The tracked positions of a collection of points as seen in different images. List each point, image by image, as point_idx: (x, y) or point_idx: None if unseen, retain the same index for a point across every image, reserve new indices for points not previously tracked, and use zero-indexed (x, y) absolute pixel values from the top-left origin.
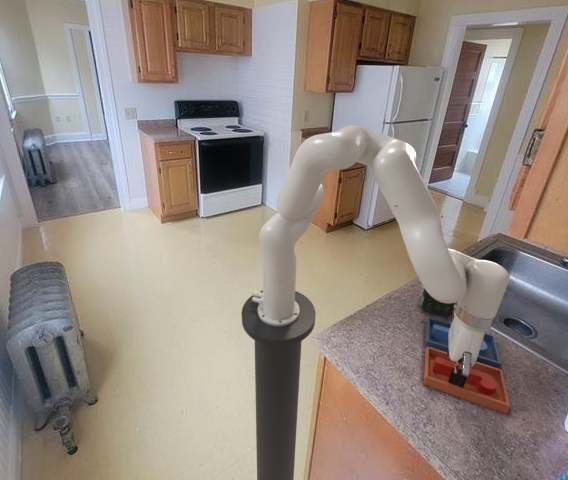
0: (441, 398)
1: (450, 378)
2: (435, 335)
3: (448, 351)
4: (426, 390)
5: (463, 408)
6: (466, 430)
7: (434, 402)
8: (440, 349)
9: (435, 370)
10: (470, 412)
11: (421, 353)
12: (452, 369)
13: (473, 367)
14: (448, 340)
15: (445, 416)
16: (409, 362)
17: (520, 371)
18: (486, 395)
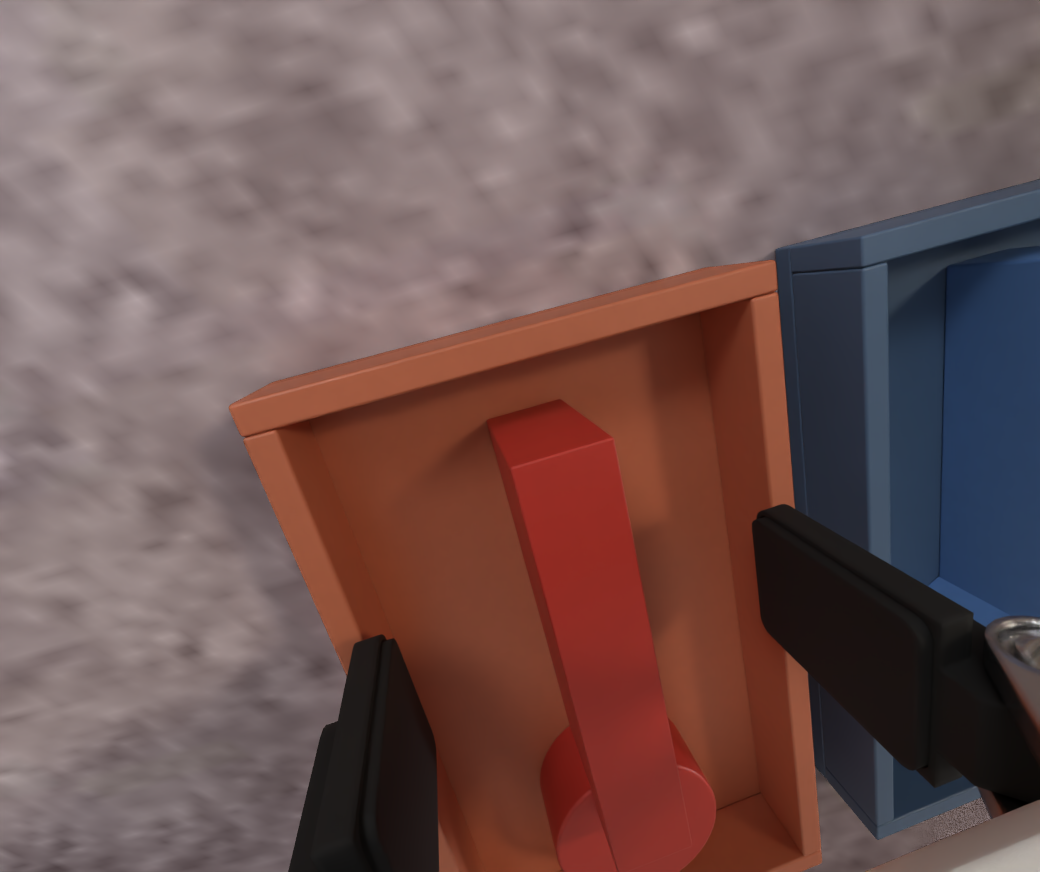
0: (248, 565)
1: (350, 698)
2: (991, 301)
3: (797, 533)
4: (221, 430)
5: (297, 716)
6: (99, 792)
7: (142, 533)
8: (817, 401)
9: (494, 446)
10: (302, 759)
11: (678, 237)
12: (332, 855)
13: (751, 673)
14: (1034, 855)
15: (77, 648)
16: (463, 148)
17: (875, 841)
18: (535, 799)
